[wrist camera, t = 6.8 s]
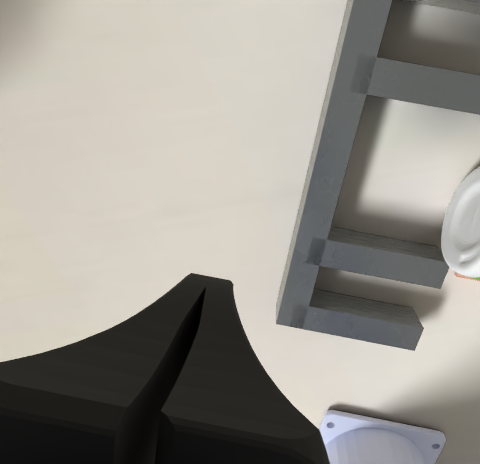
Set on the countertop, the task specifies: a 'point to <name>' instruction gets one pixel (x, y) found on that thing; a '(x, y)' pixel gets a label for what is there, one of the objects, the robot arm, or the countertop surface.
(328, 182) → the rail
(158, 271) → the countertop surface
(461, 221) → the supplement bottle
